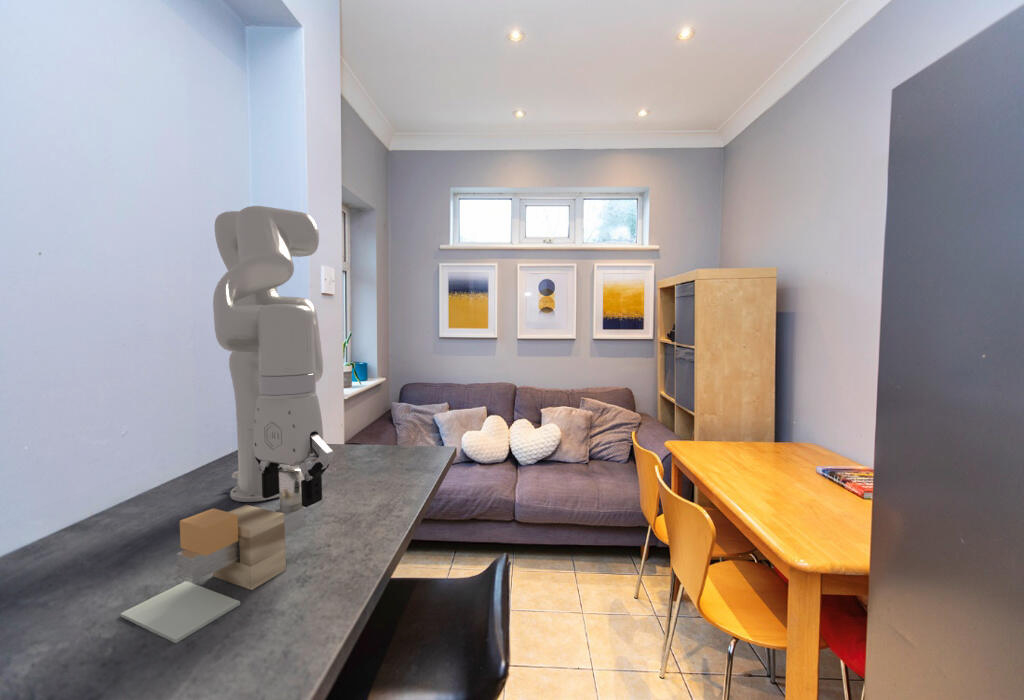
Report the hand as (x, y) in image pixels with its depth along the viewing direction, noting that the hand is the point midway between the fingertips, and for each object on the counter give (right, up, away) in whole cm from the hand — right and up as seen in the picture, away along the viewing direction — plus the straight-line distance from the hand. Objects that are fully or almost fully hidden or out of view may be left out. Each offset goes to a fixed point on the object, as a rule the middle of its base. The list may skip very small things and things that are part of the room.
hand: (292, 498), depth 65 cm
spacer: (-5, -2, -11) cm, 12 cm away
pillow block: (-3, -8, -6) cm, 11 cm away
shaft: (-3, -5, -6) cm, 8 cm away
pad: (-6, -9, -14) cm, 17 cm away
